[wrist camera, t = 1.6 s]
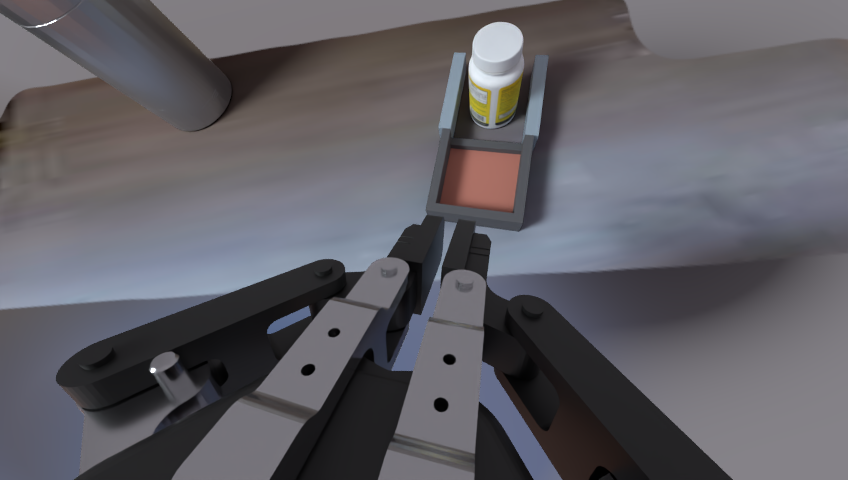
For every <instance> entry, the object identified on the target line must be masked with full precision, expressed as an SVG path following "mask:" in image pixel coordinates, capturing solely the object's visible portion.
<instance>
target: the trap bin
mask: <svg viewBox="0 0 848 480" xmlns="http://www.w3.org/2000/svg"><path fill="white" fill-rule="evenodd" d="M533 140H534V135H525V137H524V140H523V144H522V143H510V142H498V141H486V140H475V139H463V138H452V136H451V129H448V128H442V133H441V138H440V143H439V147H438V152H437V157H436V162H435V167H434V172H433V176H432V181H431V186H430V191H429V196H428V201H427V205H426V212H427V215H433V216H440V217H444V220H445V221H448V222H455V223H457V222H458V219H462V220H469V221H476V226H483V227H490V228H497V229H505V230H512V231H519V230H520V228H521V226H522V224H523V217H524V209H525V202H526V194H527V186H528V178H529V171H530V163H531V155H532V147H533Z"/></svg>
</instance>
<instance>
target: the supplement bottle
mask: <svg viewBox="0 0 848 480" xmlns="http://www.w3.org/2000/svg"><path fill="white" fill-rule="evenodd" d="M522 49H523V35H522V33H521V31H520V30H519V28H517V27H516V26H515V25H513V24H510V23H506V22H496V23H491V24H489V25H487V26H485V27H483V28H482V29H481V30H479V32H478V33H477V34H476V36H475V37H474V40H473V51H472V57H471V59H470V62H469V98H470V114H471V117H472V119H473V121H474V122H475V123H476V124H477V125H479V126H481V127H483V128H488V129H494V128H499V127H502V126H504V125H506V124H508V123H509V122H510V121H511V120H512V118H513V117H514V115H515V112H516V108H517V102H518V97H519V92H520V86H521V81H522V75H523V70H524V58H523V55H522Z"/></svg>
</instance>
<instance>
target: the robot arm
mask: <svg viewBox="0 0 848 480" xmlns="http://www.w3.org/2000/svg"><path fill="white" fill-rule="evenodd" d="M0 13H1V14H2V15H4V16H5V17H7V18H8V19H10V20H11V21H13V22H14V23H16V24H18V25H19V26H21V27H22V28H24V29H25V30H27V31H28V32H30V33H32V34H33V35H35V36H36V37H38V38H39V39H41V40H42V41H44V42H45V43H47V44H48V45H50V46H51V47H53V48H55V49H56V50H58V51H59V52H61V53H62V54H64V55H65V56H67V57H68V58H70V59H71V60H73V61H74V62H76V63H77V64H79V65H81V66H82V67H84V68H85V69H87V70H88V71H90V72H91V73H93V74H94V75H96V76H97V77H99V78H100V79H102V80H103V81H105V82H107V83H108V84H110V85H111V86H113V87H114V88H116V89H117V90H119V91H120V92H122V93H123V94H125V95H126V96H128V97H130V98H131V99H133V100H134V101H136V102H137V103H139V104H140V105H142V106H143V107H145V108H146V109H148V110H149V111H151V112H152V113H154V114H155V115H157V116H158V117H160V118H161V119H163V120H165V121H166V122H168V123H169V124H171V125H172V126H174V127H175V128H177V129H179V130H183V131H195V130H199V129H202V128H204V127H206V126H208V125H210V124H211V123H213V122H214V121H215V120H217V119H218V118H219V117H220V116H221V114H222V113H223V112H224V111H225V109H226V107H227V106H228V104H229V101H230V98H231V92H232V89H231V84H230V81H229V79H228V78H227V77H226V75H225V74H224V73H223V72H222V71H221V70H220V69H219V68H218V67H217V66H216V65H215V64H214V63H213V62H212V61H211V60H210V59H209V58H207V57H206V56H205V55H204V54H203V53H202V51H201V50H200V49H199V48H198V47H197V46H196V45H195V44H194V43H193V42H192V41H191V40H189V39H188V37H187V36H185V35H184V34H183V33H182V32H181V31H180V30H179V29H178V28H177V27H176V26H175V25H174V24H173V23H172V22H171V21H170V20H169V19H168V18H167V17H166V16H165V15H164V14H163V13H162V12H161V11H160V10H159V9H158V8H157V7H156V6H155V5H154V4H153V3H152V2H151V1H150V0H0ZM444 222H445V220H444V217H440V216H433V215H426V217H425V219H424V221H423V222H422V224H421V225H416V224H413V225H411V226H409V227H408V228H406V229H405V230H404V232H403V233H402V235H401V237H400V238H399V239H398V241H397V242H396V244H395V245H394V247H393V249H392V250H391V252H390V253H389V255H388V256H387V258H382V259H379V260H376V261H374V262H373V263H372V264H371V265H370V266H369V267H368V269H367V270H366V271H364V272H345V267H344V265H343V263H341V262H340V261H337V260H333V259H323V260H318V261H315V262H312V263H310V264H307V265H304V266H302V267H299V268H296V269H293V270H291V271H288V272H285V273H283V274H280V275H277V276H275V277H272V278H269V279H266V280H264V281H261V282H258V283H256V284H253V285H250V286H247V287H245V288H242V289H239V290H237V291H234V292H231V293H229V294H226V295H223V296H220V297H218V298H215V299H212V300H210V301H207V302H204V303H202V304H199V305H196V306H193V307H191V308H188V309H185V310H183V311H180V312H177V313H175V314H172V315H169V316H166V317H164V318H161V319H158V320H156V321H153V322H150V323H148V324H145V325H142V326H140V327H137V328H134V329H132V330H129V331H126V332H123V333H121V334H118V335H115V336H113V337H110V338H107V339H104V340H102V341H99V342H97V343H94V344H92V345H90V346H88V347H86V348H84V349H82V350H81V351H79V352H78V353H76V354H75V355H74V356H72V357H71V358H70V359H69V360H67V361H66V362H65V363H64V364H63V366H61V368H60V370H59V371H58V373H57V375H56V381H57V383H58V384H59V385H60V386H61V387H62V388H63V389H64V391H65V392H66V393H67V394H68V395H70V397H71V398H72V399H73V400H74V401H75V402H76V405H77V407H78V408H79V410H81V412H82V413H83V414H84V427H83V437H82V449H81V460H80V472H79V476H78V477H77V478H75V479H74V480H533V478H532V476H531V475H530V473H529V471H528V469H527V468H526V466H525V464H524V463H523V461H522V459H521V458H520V456H519V454H518V452H517V451H516V449H515V447H514V445H513V444H512V442H511V440H510V439H509V437H508V435H507V434H506V432H505V430H504V429H503V427H502V425H501V424H500V423H499V422H498V420H497V419H496V418H495V416H494V415H493V414H492V413H491V412H490V411H489V410H488V409H487V408H486V407H485V406H484V405H482V404H481V403H480V402H479V391H480V378H481V365H482V364H481V363H482V361H483V362H485V363H487V364H489V365H491V366H493V367H494V372H495V375H496V377H497V379H498V380H499V382H500V383H501V385H502V387H503V388H504V389H505V391H506V393H507V394H508V396H509V397H510V399H511V401H512V402H513V404H514V405H515V407H516V408H517V410H518V411H519V413H520V414H521V416H522V418H523V419H524V421H525V422H526V424H527V425H528V427H529V428H530V430H531V431H532V433H533V435H534V436H535V438H536V439H537V441H538V442H539V444H540V445H541V447H542V449H543V450H544V452H545V453H546V455H547V456H548V458H549V460H550V461H551V463H552V464H553V466H554V467H555V469H556V470H557V472H558V474H559V475H560V477H561V478H562V479H563V480H733V479H731V478H730V477H729V476H728V475H727V474H726V473H725V472H724V471H723V470H722V469H721V468H720V467H719V466H718V465H717V464H716V463H715V462H714V461H713V460H712V459H711V458H710V457H709V456H708V455H706V454H705V453H704V452H703V451H702V450H701V449H700V448H699V447H698V446H697V445H696V444H695V443H694V442H693V441H692V440H691V439H690V438H689V437H688V436H687V435H686V434H685V433H684V432H683V431H681V430H680V429H679V428H678V427H677V426H676V425H675V424H674V423H673V422H672V421H671V420H670V419H669V418H668V417H667V416H666V415H665V414H663V412H662V411H660V409H659V408H658V407H656V406H655V405H654V404H653V403H652V402H651V401H650V400H649V399H648V398H647V397H646V396H645V395H644V394H643V393H642V392H641V391H640V390H639V389H638V388H637V387H636V386H634V385H633V384H632V383H631V382H630V381H629V380H628V379H627V378H626V377H625V376H624V375H623V374H622V373H621V372H620V371H619V370H618V369H617V368H616V367H615V366H614V365H613V364H612V363H611V362H610V361H609V360H607V359H606V358H605V357H604V356H603V355H602V354H601V353H600V352H599V351H598V350H597V349H596V348H595V347H594V346H593V345H592V344H591V343H589V341H588V340H587V339H586V338H585V337H584V336H582V335H581V334H580V333H579V332H578V331H577V330H576V329H575V328H574V327H573V326H572V325H571V324H570V323H569V322H568V321H567V320H566V319H565V318H564V317H563V316H562V315H561V314H560V313H559V312H557V311H556V310H555V309H554V308H553V307H552V306H551V305H550V304H549V303H548V302H546V301H544V300H542V299H540V298H538V297H535V296H530V295H519V296H516V297H514V298H512V299H511V300H510V301H508V300H506V299H503V298H501V297H499V296H497V295H496V294H495V293H493V292H492V291H491V290H490V288H489V287H488V285H487V282H486V279H487V271H488V263H489V255H490V248H491V241H490V239H489V237H488V236H487V235H485V234H478V233H475V227H476V221H469V220H462V219H458V222H457V225H456V228H455V231H454V233H453V236H452V239H451V242H450V245H449V248H448V251H447V253H446V256H445V259H444V262H443V265H442V272H441V287H440V293H439V297H438V300H437V304H436V307H435V311H434V314H433V318H432V317H430V318H429V320H428V323H427V326H426V329H425V333H424V336H423V339H422V343H421V346H420V350H419V353H418V357H417V360H416V363H415V367H414V370H413V371H391V370H392V368H393V365H394V363H395V361H396V358H397V356H398V354H399V351H400V349H401V347H402V344H403V342H404V340H405V337H406V335H407V333H408V330H409V321H410V319H411V316H412V314H413V313H414V314H419V315H421V313H422V311H423V308H424V305H425V303H426V300H427V297H428V294H429V292H430V289H431V286H432V283H433V281H434V278H435V275H436V272H437V270H438V267H439V264H440V261H441V257H442V250H443V237H444ZM307 306H309V308H310V313H311V316H309V317H307V318H305V319H303V320H300V321H298V322H296V323H294V324H292V325H290V326H288V327H286V328H283V329H281V330H279V331H277V332H275V333H272V334H267V329H268V327H269V326H270V324H272V323H273V322H274V321H276V320H278V319H280V318H282V317H284V316H287V315H289V314H291V313H293V312H296V311H298V310H300V309H302V308H304V307H307Z"/></svg>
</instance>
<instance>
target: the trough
mask: <svg viewBox="0 0 848 480" xmlns="http://www.w3.org/2000/svg"><path fill="white" fill-rule="evenodd" d="M548 56H549V55H536V57H535V61H534V65H533V70H532V74H531V81H530V88H529V96H528V103H527V110H526V117H525V124H524V132H523V139H522V144H523V140H524V137H525V135H534V140H533V147H532V150H534V147H535V144H536V142H537V139H538V136H539V128H540V120H541V112H542V104H543V96H544V88H545V80H546V72H547V64H548ZM465 76H466V53H454V56H453V61H452V66H451V71H450V75H449V80H448V85H447V90H446V95H445V99H444V104H443V109H442V114H441V118H440V123H439V133H440V138H441V133H442V128H448V129H451V136H452V138H453V137H454V132H455V127H456V122H457V117H458V112H459V106H460V101H461V96H462V91H463V86H464V81H465Z"/></svg>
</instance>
